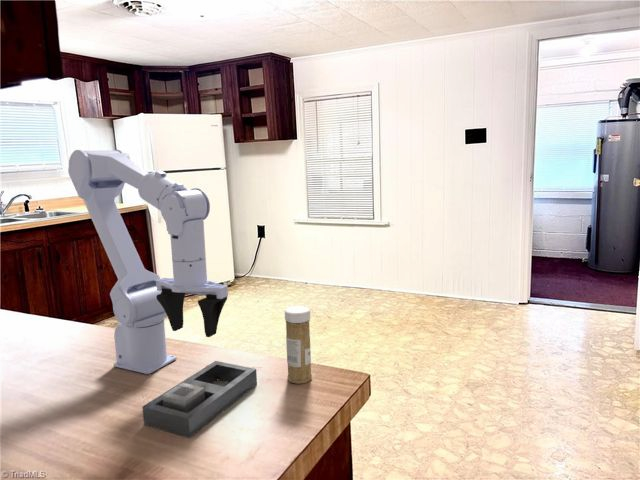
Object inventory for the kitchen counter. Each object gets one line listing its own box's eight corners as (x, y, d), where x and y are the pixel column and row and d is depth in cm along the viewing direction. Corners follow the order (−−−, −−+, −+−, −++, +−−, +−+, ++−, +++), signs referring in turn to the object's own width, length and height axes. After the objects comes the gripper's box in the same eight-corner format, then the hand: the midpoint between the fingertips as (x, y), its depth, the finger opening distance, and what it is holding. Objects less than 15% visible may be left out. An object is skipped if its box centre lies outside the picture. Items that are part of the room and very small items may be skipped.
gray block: (164, 421, 74) (162, 394, 74) (184, 408, 78) (182, 382, 78) (186, 428, 73) (184, 400, 72) (205, 413, 77) (204, 387, 76)
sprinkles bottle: (316, 380, 87) (314, 309, 85) (295, 387, 85) (292, 314, 82) (303, 371, 91) (301, 303, 89) (282, 377, 88) (280, 308, 86)
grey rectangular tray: (144, 424, 74) (142, 406, 73) (216, 375, 90) (215, 360, 89) (190, 438, 70) (188, 419, 69) (257, 384, 86) (256, 369, 85)
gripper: (141, 260, 83) (147, 333, 86) (207, 266, 77) (212, 346, 80) (169, 252, 90) (174, 321, 92) (233, 258, 83) (237, 331, 86)
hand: (194, 332), depth 86 cm, fingers open, 7 cm apart
